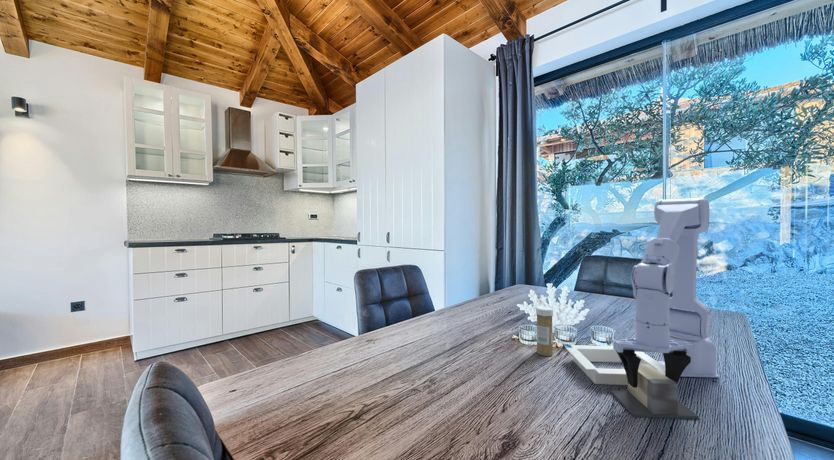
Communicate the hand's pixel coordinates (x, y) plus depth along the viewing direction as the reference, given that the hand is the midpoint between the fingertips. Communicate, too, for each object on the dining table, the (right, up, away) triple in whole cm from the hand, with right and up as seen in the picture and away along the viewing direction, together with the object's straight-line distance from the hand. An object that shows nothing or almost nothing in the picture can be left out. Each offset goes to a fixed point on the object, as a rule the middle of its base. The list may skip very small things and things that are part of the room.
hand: (651, 385), depth 68 cm
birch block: (0, -3, 0) cm, 3 cm away
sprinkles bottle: (-12, -4, +27) cm, 30 cm away
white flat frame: (+1, -4, +15) cm, 16 cm away
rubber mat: (0, -4, 0) cm, 4 cm away
